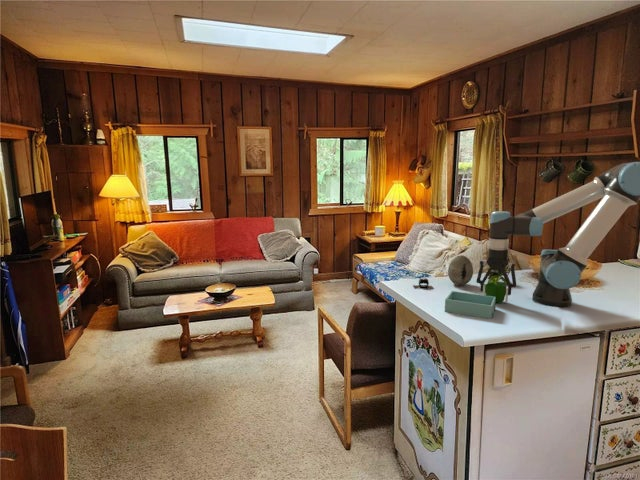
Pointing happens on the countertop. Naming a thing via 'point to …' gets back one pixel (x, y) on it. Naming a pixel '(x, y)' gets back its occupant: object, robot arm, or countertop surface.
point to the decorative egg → (460, 270)
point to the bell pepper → (496, 290)
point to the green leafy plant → (497, 276)
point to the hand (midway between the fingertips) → (494, 300)
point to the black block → (424, 281)
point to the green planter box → (470, 304)
